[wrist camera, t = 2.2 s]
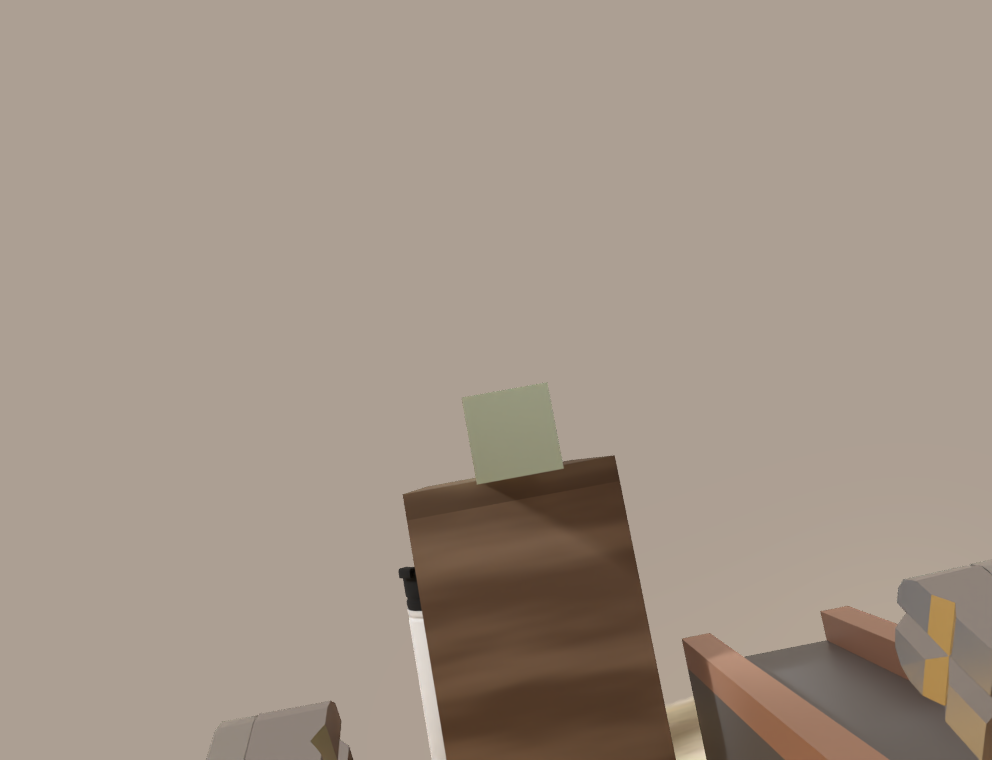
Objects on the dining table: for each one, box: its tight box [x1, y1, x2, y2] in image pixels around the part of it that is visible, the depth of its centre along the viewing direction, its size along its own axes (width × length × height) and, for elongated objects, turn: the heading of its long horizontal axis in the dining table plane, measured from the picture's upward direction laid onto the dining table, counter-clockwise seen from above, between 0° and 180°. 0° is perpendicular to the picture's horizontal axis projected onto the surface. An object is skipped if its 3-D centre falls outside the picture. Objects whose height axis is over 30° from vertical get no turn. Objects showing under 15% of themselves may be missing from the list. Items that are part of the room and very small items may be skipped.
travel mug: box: [399, 567, 446, 760], centre depth 57 cm, size 6×7×20 cm
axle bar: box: [462, 383, 564, 484], centre depth 36 cm, size 24×3×3 cm, turn 3°
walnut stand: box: [403, 456, 676, 760], centre depth 40 cm, size 16×10×26 cm, turn 3°
